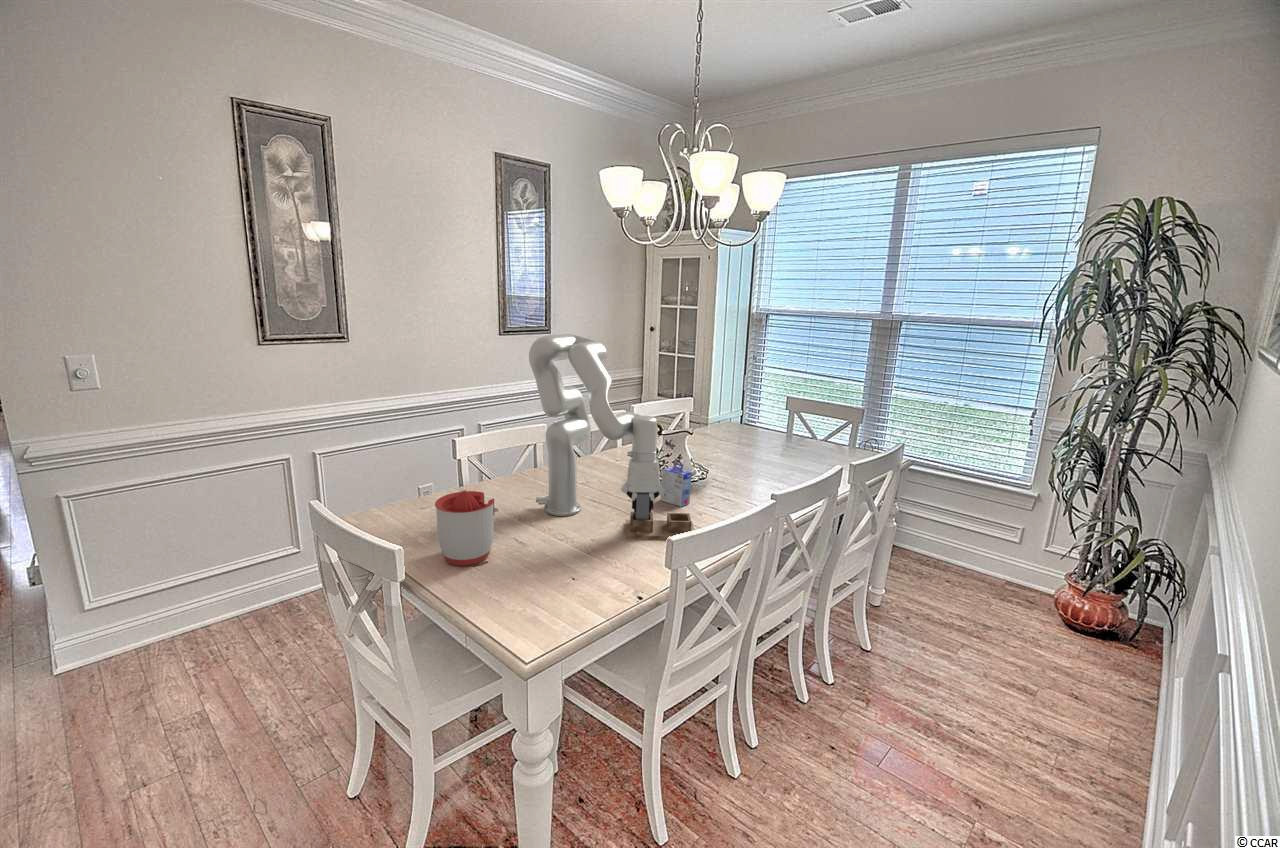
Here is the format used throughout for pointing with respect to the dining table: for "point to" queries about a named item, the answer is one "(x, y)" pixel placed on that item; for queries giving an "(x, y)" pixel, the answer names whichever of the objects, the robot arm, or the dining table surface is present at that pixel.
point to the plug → (642, 506)
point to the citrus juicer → (465, 527)
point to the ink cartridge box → (676, 485)
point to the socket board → (658, 526)
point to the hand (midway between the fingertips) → (642, 510)
